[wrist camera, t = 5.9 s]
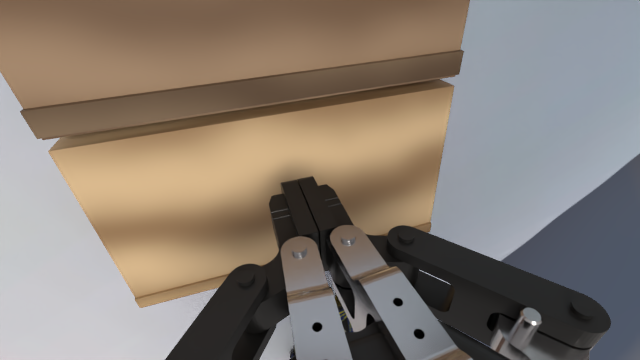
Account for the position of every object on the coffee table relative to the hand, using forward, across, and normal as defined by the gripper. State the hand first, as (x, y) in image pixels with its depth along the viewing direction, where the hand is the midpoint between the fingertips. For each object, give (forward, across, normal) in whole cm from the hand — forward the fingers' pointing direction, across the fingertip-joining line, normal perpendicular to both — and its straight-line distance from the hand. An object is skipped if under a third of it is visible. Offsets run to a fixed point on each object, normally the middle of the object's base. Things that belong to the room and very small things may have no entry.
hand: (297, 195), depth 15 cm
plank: (+6, 0, +3) cm, 6 cm away
